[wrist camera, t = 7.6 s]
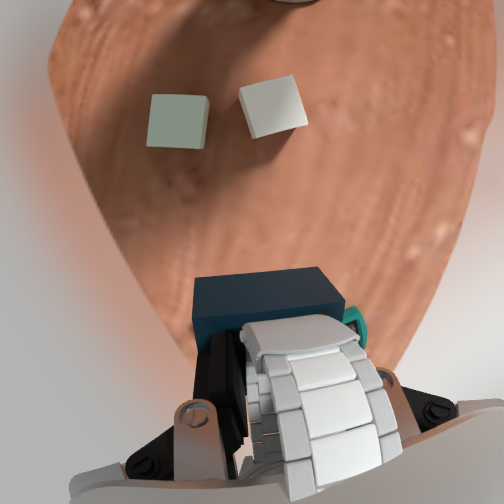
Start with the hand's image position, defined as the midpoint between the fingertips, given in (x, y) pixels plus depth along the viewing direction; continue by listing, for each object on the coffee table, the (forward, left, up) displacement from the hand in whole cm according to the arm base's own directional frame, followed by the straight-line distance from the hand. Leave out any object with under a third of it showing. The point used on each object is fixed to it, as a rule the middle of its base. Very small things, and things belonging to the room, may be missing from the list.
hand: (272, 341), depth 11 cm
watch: (0, 0, -2) cm, 2 cm away
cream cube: (-11, +4, -22) cm, 25 cm away
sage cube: (-11, -5, -22) cm, 25 cm away
